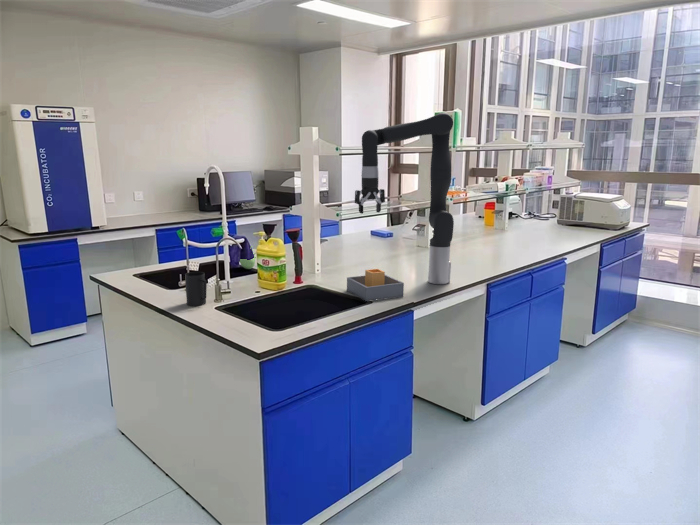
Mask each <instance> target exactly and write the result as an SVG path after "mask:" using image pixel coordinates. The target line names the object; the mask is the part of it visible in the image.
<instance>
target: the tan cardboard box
mask: <svg viewBox="0 0 700 525" xmlns="http://www.w3.org/2000/svg"><path fill="white" fill-rule="evenodd" d="M364 272H365V273H364V275H365V286H366V287H371V286H379V285H384V281H385V275H386V271H384V270H381V269H379V268H371V269H370V268H369V269H365V270H364Z"/></svg>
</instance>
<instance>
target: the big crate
mask: <svg viewBox="0 0 700 525" xmlns="http://www.w3.org/2000/svg"><path fill="white" fill-rule="evenodd" d="M404 285H405V284H404V282H403V281H400V280H398V279H395V278H394V277H391V276H390V275H387V274H385V281H384V285H379V286H371V287H366V286H365V274H363V275H355V276H348V277H346V291H348V292H349V293H350V292H351V293H350V294H352V295H354V296H356V297H357V296H358V297H357V298H359V297H360V298H359V299H361V298H362V299H361V300H363V301H364V300H365V301H364V302H366V301H367V302H370V301H369V300H374V301H377V300H376V299H381V300H386V299H385V298H388V299H394V297H395V298H399V297H400V298H401V297H404V290H405V288H404V287H405V286H404Z"/></svg>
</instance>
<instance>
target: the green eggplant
mask: <svg viewBox="0 0 700 525" xmlns="http://www.w3.org/2000/svg"><path fill="white" fill-rule="evenodd" d="M250 246H251V247H250V248H252V247H254V246H253V245H250ZM254 250H255V248H253V249H252V251H253V254H254V258H253V259H251V260H247V259H240V261H239V264H240V265H241V266H242V268H244V269H246V270H251V269H253V268H254V266H255V264H256V259H257V257H256V252H254Z"/></svg>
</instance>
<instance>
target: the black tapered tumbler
mask: <svg viewBox="0 0 700 525" xmlns="http://www.w3.org/2000/svg"><path fill="white" fill-rule="evenodd" d="M184 277H185V278H184V279H185V280H184V282H185V294H186V295H185V296H186V305H187V306H189V307H200V306H203V305H206V304H207V290H208V289H207V285H208V284H207V283H208V282H207V281H208V280H206V278H205V272H203V271H189V272H186V273H185V274H184Z"/></svg>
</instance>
